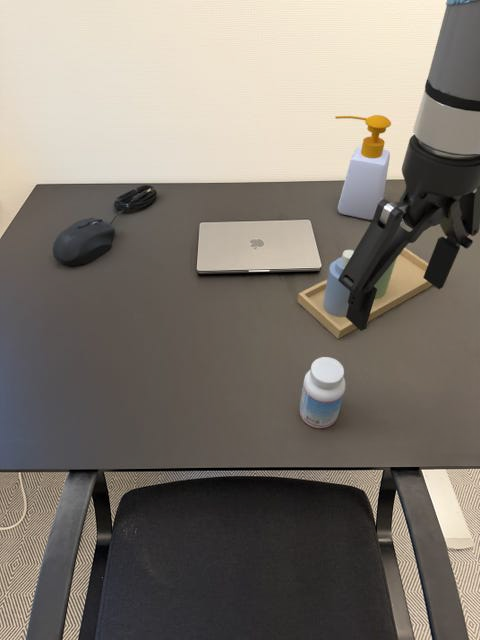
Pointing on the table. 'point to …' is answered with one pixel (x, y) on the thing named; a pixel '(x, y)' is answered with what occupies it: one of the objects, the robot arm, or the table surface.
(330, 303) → the blue-grey bottle
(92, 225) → the computer mouse
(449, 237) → the robot arm
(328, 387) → the pill bottle
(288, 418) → the table surface
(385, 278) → the green bottle
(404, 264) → the tray
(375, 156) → the soap bottle
